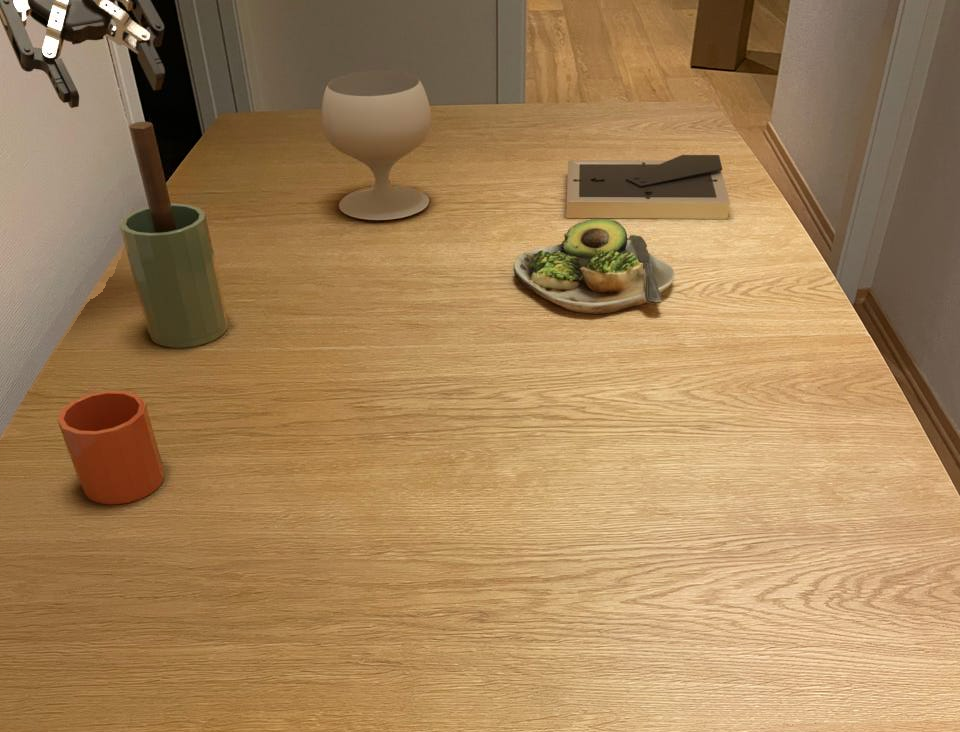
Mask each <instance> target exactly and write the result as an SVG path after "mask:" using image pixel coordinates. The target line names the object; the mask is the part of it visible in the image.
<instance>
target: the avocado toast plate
mask: <svg viewBox="0 0 960 732" xmlns="http://www.w3.org/2000/svg"><path fill="white" fill-rule="evenodd" d="M563 236H564V240H563V241H562V242H561V243H560V244H556V245H549V246H545V247H540V248H534V249H531V250H528V251H524V252H523V253H520V254H519V255H517V257H516V258H515V261H514V263H513V266H512V267H513V273H514V275H515V278H516V279H517V280H518V282H519V283H520V284H521V285H522V286H524V287H525V288H527V289H530V290H531V291H532V292H534V293H535V294H536V295H537V296H538V297H541V298H543V299H544V300H547V301H548V302H550V303H553V304H554V305H556V306H557V305H558V306H559V307H561V308H563V309H565V310H567V311H569V312H574V313H582V314H591V315H593V314H594V315H602V314H611V313H616V312H619V311H622V310H625V309H628V308H632V307H637V306H642V305H645V304H646V303H648V304H654V305H657V304H661V303H662V302H663V299H662V295H661V293H663V292H664V291H666V290H667V289H669V288H670V287H671V286H672V283H673V281H674V279H675V274H676V271H675V269H674V268H673V267H672V266H671V265H670V264H668V263H666V262H664V261H663V260H661V259H659V258H657V256H654V255H652V254H651V253H650V252H649V250H648V249H647V248H648V244H647V242H646V241H645V239H644V238H643V237H642V236H641V235H635V234H629V236H628V232H627V231H626V228H625V227H624V226H623V225H622V224H621V223H620V222H618V221H616V220H614V219H611V218H590V219H586V220H584V221H581V222H578V223H576V224H574V225H572V226H571V227H569V228H568V230H567V231H566V232H565V233H564V234H563Z"/></svg>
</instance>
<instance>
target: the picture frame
mask: <svg viewBox="0 0 960 732" xmlns="http://www.w3.org/2000/svg"><path fill="white" fill-rule="evenodd" d="M722 171H723V166H722V161H721V157H720V154H681V155H679V156H676V157H673V158H671V159H669V160H652V159H651V160H649V159H647V160H643V159H642V160H638V159H637V160H633V159H632V160H626V159H625V160H623V159H620V160H616V159H615V160H613V159H611V160H605V159H604V160H603V159H601V160H599V159H596V160H595V159H594V160H590V159H589V160H588V159H586V160H584V159H581V160H579V159H578V160H576V159H568V160H567V181H566V182H567V183H566V184H567V185H566V211H565V212H566V213H565V218H566V219H601V218H602V219H605V218H606V219H672V220H673V219H675V220H677V219H680V220H682V219H684V220H685V219H686V220H687V219H688V220H689V219H692V220H694V219H695V220H698V219H701V220H728V218H729V212H730V205H731V201H730V197H729V194H728V191H727V187H726V184H725V180H724V176H723V173H722Z"/></svg>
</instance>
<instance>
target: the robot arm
mask: <svg viewBox="0 0 960 732" xmlns="http://www.w3.org/2000/svg"><path fill="white" fill-rule="evenodd" d="M116 2H119V3H122V5H123V6H124V7H125V9H126V10H127V11H126V10H124V9H123V8H121V7H120V6H118V5H116ZM128 12H132V14H133V16H134V17H135V19H136V21H137V22H138V23H137V22H136V21H134V20H133V19H132V17H131V16H130V14H129V13H128ZM29 16H30V17H31V18H32V19H33V20H34V21H35V22H36V23H39V24H40V25H41V26H43V27H44V28H46V32H45V37H44V40H43V44H42V48H40V47H34V46H33V44H32V41H31V39H30V37H29V34H28V32H27V30H26V27H27V17H29ZM112 21H114V23H115V25H113V23H112ZM0 22H1V24H2V27H3V29H4V31H5V34H6V37H7V38H8V40H9V44H10V46H11V47H12V49H13V52H14V55H15V57H16V60H17V62H18V64H19V66H20V68H21V69H22V70H23V71H24V72H28V73H31V72H32V71H33V72H34V70H37V71H38V70H39V71H43V72H44V73H45V74H46V75H47V77H48V79H49V82H50V83H51V85H52V88H53V89H54V91H55V92H56V95H57V97H58V99H59V100H60V101H61V102H62V103H63V104H66V103H67V104H68V106H69V107H70V109H74V108H79V106H80V94H79V91H78V89H77V87H76V85H75V83H74V81H73V78H72V77H71V75H70V72H69V71H68V69H67V66H66V65H65V63H64V61H63V58H62V57H61V53H62V50H63V45H64V42H70V43H71V44H72V45H78V44H82V43H84V42H85V41H100V40H101V41H102V40H104V37H106V38H108V39H109V40H110V41H112V42H113V43H115V44H116V45H118V46H125V47H126V48H127V49H129V50H130V51H132V52H134V53H135V54H136V55H137V60H138V62H139V64H140V67H141V68H142V70H143V72H144V75H145V77H146V78H147V80H148V82H149V84H150V86H151V89H152V91H158V90H162V87H163V83H164V81H165V75H166V69H165V66H164V64H163V62H162V60H161V58H160V55H159V53H158V52H157V50H156V48H159V47H161V46H162V43H163V38H164V33H165V24H164V22H163V20H162V18H161V16H160V15H159V13H158V11H157V10H156V7H155V6H154V4H153V2H152V0H0ZM60 57H61V58H60Z"/></svg>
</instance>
